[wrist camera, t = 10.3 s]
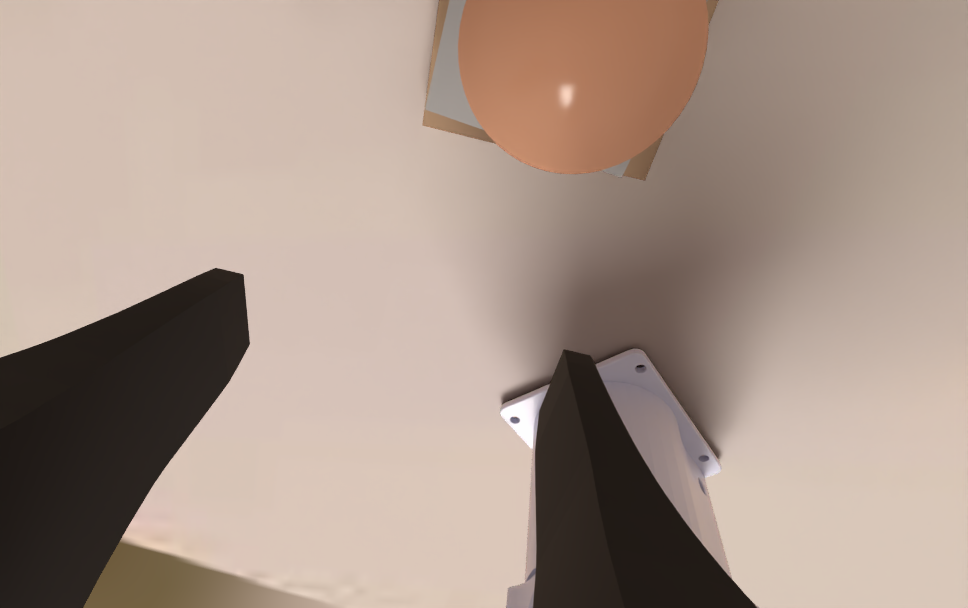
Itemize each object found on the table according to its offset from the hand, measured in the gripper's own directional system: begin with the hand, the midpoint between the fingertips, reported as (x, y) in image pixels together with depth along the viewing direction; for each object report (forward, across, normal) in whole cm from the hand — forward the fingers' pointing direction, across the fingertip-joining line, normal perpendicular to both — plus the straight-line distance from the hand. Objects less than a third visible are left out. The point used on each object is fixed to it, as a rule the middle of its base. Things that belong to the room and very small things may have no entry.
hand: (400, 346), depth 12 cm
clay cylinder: (+6, -2, -6) cm, 9 cm away
